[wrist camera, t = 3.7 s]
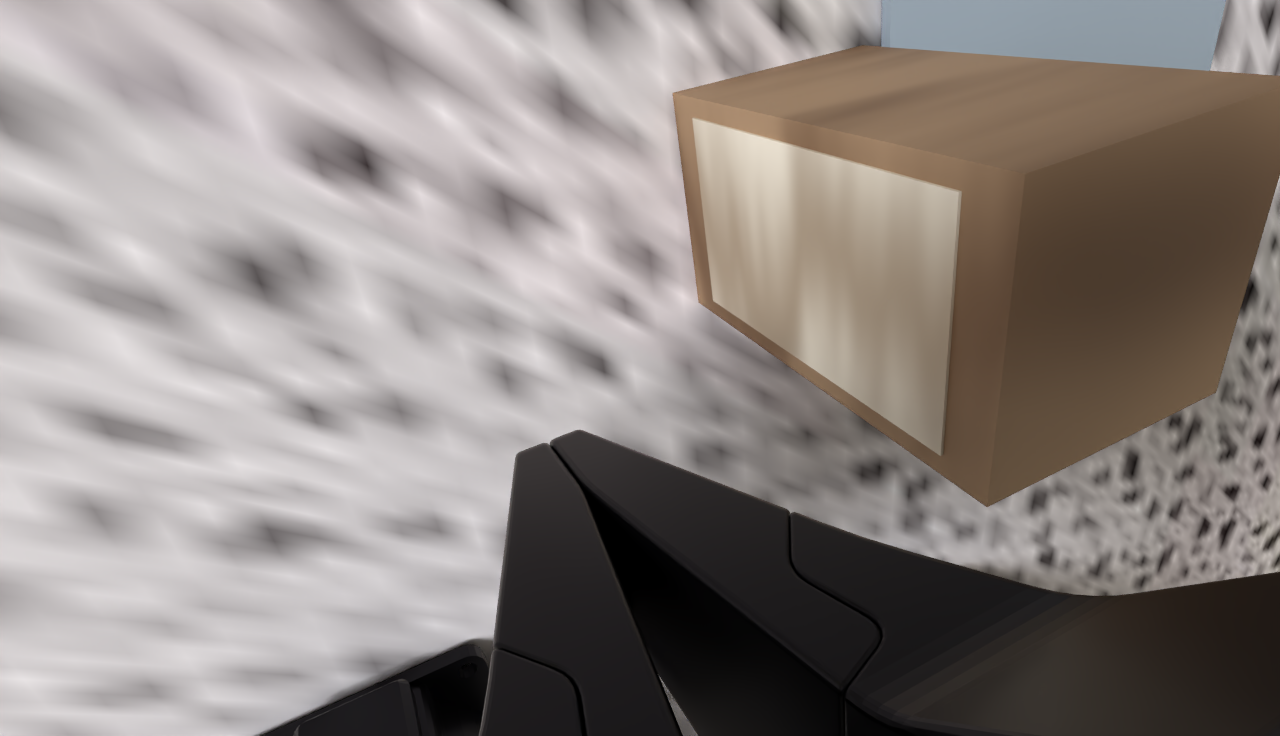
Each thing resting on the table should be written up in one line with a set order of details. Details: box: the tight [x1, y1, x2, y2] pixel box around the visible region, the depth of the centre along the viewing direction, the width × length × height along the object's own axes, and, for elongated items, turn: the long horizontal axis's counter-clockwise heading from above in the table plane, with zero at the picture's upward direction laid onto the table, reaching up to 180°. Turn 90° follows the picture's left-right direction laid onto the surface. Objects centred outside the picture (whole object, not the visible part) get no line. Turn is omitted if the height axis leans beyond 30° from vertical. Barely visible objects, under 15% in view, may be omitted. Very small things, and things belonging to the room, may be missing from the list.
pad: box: [881, 0, 1226, 71], centre depth 20 cm, size 16×12×1 cm
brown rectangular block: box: [673, 45, 1280, 507], centre depth 14 cm, size 5×5×9 cm
